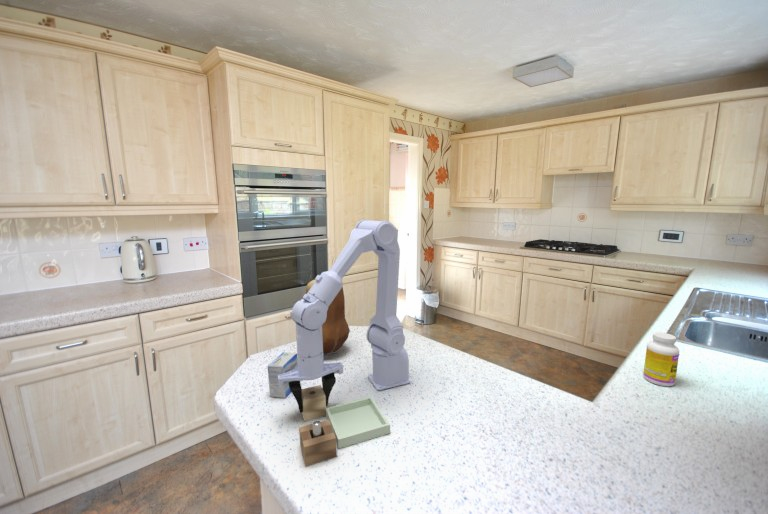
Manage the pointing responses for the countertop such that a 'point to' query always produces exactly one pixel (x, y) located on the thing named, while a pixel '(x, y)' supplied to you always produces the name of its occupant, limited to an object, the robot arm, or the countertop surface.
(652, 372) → the supplement bottle
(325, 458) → the slotted wooden block
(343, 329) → the butternut squash
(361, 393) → the countertop surface
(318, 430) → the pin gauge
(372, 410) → the tray
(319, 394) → the block
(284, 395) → the medicine box
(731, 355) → the countertop surface
